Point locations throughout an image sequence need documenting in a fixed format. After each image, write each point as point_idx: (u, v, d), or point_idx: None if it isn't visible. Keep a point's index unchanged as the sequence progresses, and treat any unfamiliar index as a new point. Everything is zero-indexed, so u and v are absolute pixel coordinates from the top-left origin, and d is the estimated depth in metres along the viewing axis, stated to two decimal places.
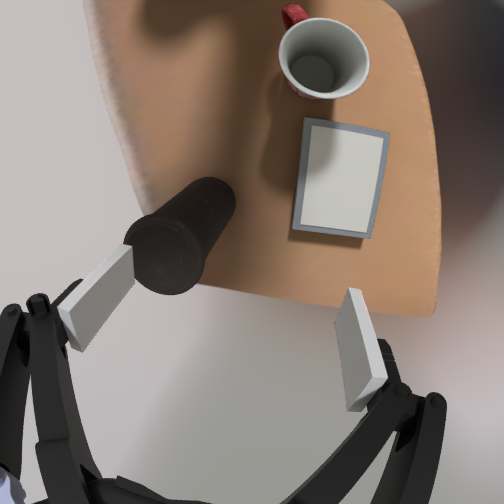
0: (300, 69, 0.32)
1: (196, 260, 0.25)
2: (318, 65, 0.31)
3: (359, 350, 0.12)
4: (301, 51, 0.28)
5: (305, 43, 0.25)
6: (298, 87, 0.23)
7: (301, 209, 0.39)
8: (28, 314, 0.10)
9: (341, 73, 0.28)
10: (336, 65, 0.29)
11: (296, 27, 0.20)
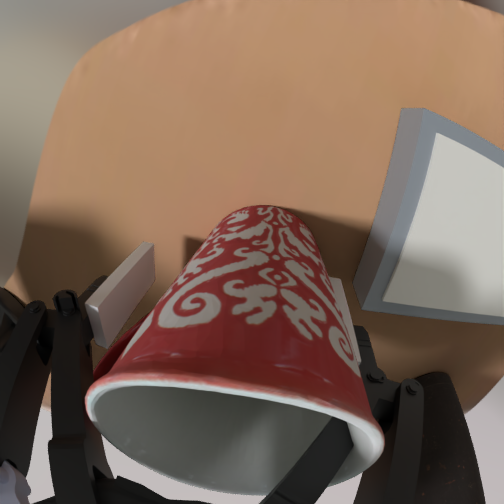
0: None
1: None
2: None
3: None
4: None
5: None
6: None
7: (496, 315, 0.15)
8: (52, 311, 0.10)
9: None
10: None
11: (151, 464, 0.08)
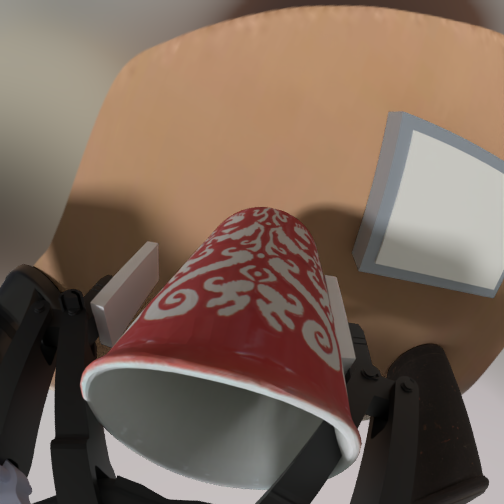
0: None
1: (472, 494, 0.09)
2: None
3: None
4: None
5: None
6: None
7: (479, 286, 0.19)
8: (57, 311, 0.11)
9: None
10: None
11: (147, 454, 0.09)
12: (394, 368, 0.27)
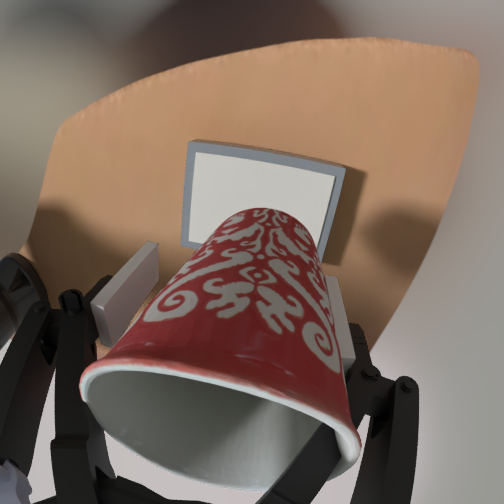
0: None
1: None
2: None
3: None
4: None
5: None
6: None
7: None
8: (57, 311, 0.11)
9: None
10: None
11: (146, 455, 0.09)
12: None
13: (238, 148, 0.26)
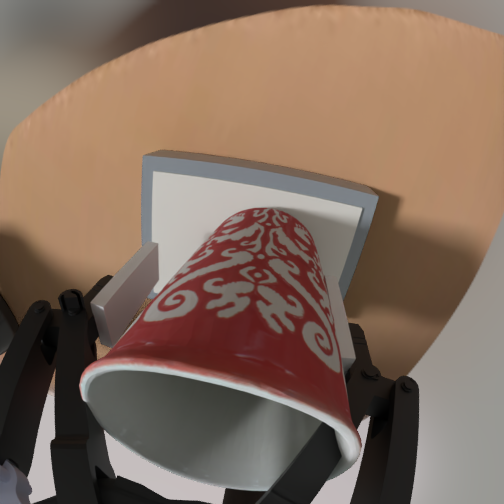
0: None
1: None
2: None
3: None
4: None
5: None
6: None
7: None
8: (57, 311, 0.11)
9: None
10: None
11: (146, 455, 0.09)
12: None
13: (215, 164, 0.17)
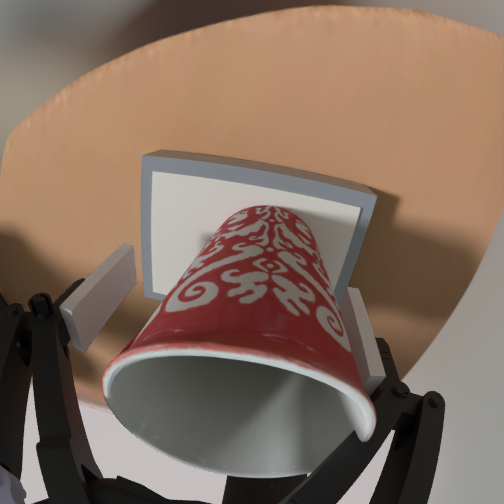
0: None
1: None
2: None
3: (357, 349, 0.12)
4: None
5: None
6: None
7: None
8: (30, 314, 0.10)
9: None
10: None
11: (165, 449, 0.09)
12: None
13: (214, 164, 0.17)
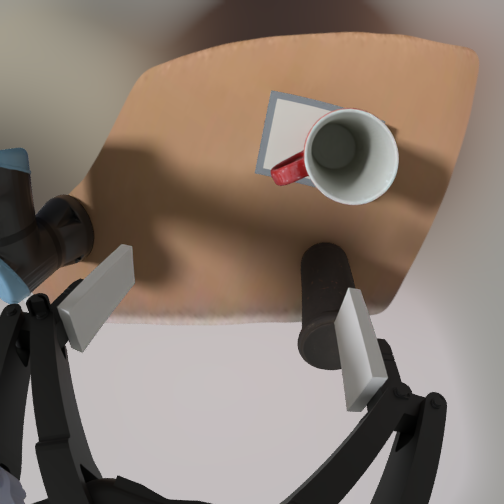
0: (327, 157, 0.34)
1: None
2: (322, 138, 0.33)
3: (359, 350, 0.12)
4: (312, 158, 0.32)
5: None
6: (385, 190, 0.24)
7: None
8: (28, 314, 0.10)
9: (340, 122, 0.29)
10: None
11: (317, 182, 0.24)
12: (302, 259, 0.45)
13: (309, 99, 0.32)
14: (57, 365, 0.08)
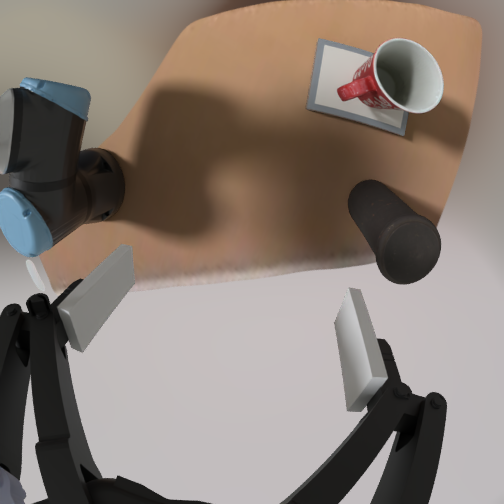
0: None
1: (419, 222, 0.26)
2: None
3: (359, 350, 0.12)
4: None
5: None
6: (437, 103, 0.22)
7: (388, 124, 0.36)
8: (28, 314, 0.10)
9: (385, 61, 0.28)
10: None
11: (385, 91, 0.23)
12: (350, 195, 0.44)
13: (352, 47, 0.31)
14: (57, 365, 0.08)
